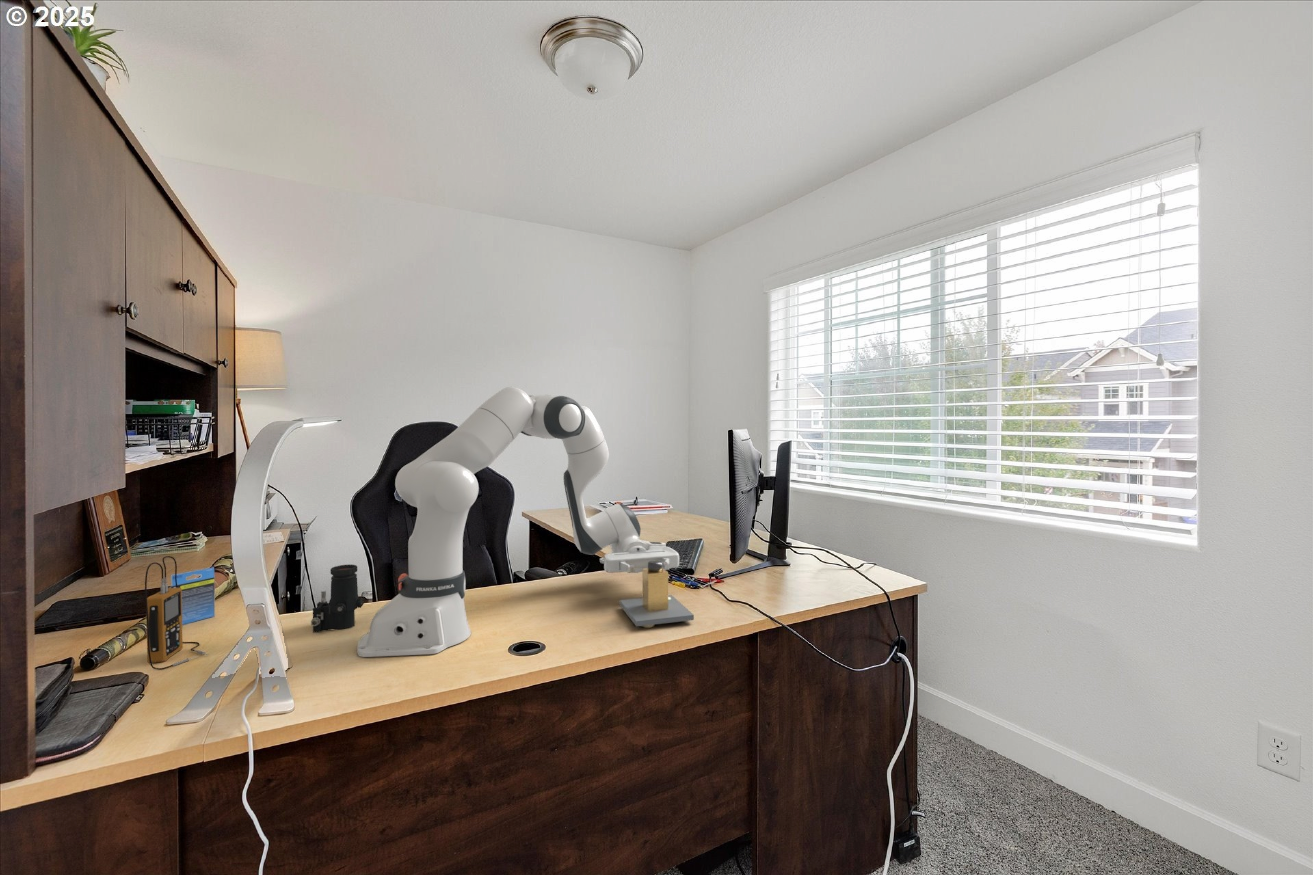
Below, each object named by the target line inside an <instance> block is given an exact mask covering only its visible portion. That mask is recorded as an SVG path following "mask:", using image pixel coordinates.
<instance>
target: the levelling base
mask: <svg viewBox="0 0 1313 875" xmlns="http://www.w3.org/2000/svg"><path fill="white" fill-rule="evenodd" d="M619 606H620V607H621V609H622V610H623V611H624V612H625V614H626V615H627V617H629V619H630V621H631V622H632V623H633V624H634V625H635V627H642V628H652V627H655V625H662V624H669V623H670V624H671V623H679V622H687V621H689V622H690V621H694V620H695V615H694V613H692V611H690V610H689V609H688V608H687V607H686V606H685V605H683V603H682V602H680V601H679V600H678V599H677V598H675V597H674V596H673V595H672V594H670V595H669V594H668V609H666V610H657V611H648V610H647V609H646V608H645V607H644V606H643V597H639V598H627V599H619Z"/></svg>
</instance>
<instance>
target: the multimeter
mask: <svg viewBox="0 0 1313 875" xmlns="http://www.w3.org/2000/svg"><path fill="white" fill-rule="evenodd" d="M167 558H171V559H172V560H173V561H174V571H175V572H174V575H175V583H176V588H169V587H168V586H169V585H168V576H167V566H166V564H165V559H167ZM162 563H163V566H162V565H161V564H160V563H159V562H152V563H149V565H148V566H147V568H146V571H145V576H144V577H145V578H144V600H145V617H146V618H145V621H146V624H145V625H146V654H147V655H146V657H147V658H146V662H147V663H148V664H150V667H151V668H152V669H153V670H161V671H162V670H165V669H168V668H171V667H174V666H178V665H181V664H183V663H186V662H190V660H192V659H196V658H197V657H199V655H196V656H193V657H191V658H189V657H187V658H185V659H182V660H180V661H177V662H174V663H173V664H170V665H168V666H165V667H161V668H159V667H155V666H154V665H153V663H163V662H166V661H167V660H168V659H169V658H170V657H172V656H174V655H175V654H176V653H177V652H180V651H181V650H182V649H183V647H184V646H183V644H197V645H196V646H194V647H191V648H190V651H191V652H195V653H196V654H200V655H202V656H204V655H207V656H210V654H209V653H207V652H206V651H201V650H197V649H196V650H195V648H197V647H200V642H197V641H183V625H182V589H181V588H178V587H177V574H178V573H177V571H178V566H177V561H176V558H175V557H174V556H171V555H167V556H164V557H163V558H162ZM155 564H156V565H158V566H159V567H160V569H161V579H160V583H161V585H160V591H158V592H156V593H155V594H152V595H150V596H148V594H147V593H148V592H147V591H148V590H147V589H148V588H147V587H148V586H147V584H148V572H149V570H150V567H151V566H152V565H155Z"/></svg>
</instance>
